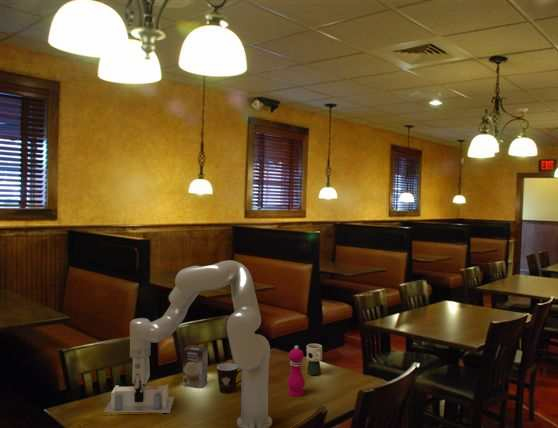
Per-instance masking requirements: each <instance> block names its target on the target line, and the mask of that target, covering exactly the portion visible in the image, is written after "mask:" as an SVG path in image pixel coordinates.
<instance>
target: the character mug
mask: <svg viewBox="0 0 558 428" xmlns="http://www.w3.org/2000/svg"><path fill="white" fill-rule="evenodd" d="M306 360H307V361H308V363H307V372H306V373H307V374H308V375H312V376H317V375H319V374H320V375H321V373H322V371H321V363H320V362H321V361H322V360H323V346H322V345H321V344H319V343H309V344H307V345H306Z"/></svg>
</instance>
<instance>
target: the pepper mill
mask: <svg viewBox="0 0 558 428" xmlns="http://www.w3.org/2000/svg"><path fill="white" fill-rule="evenodd" d="M304 356H305V355H304V352H303V350H301V349H300V347H299V346H298V345H294V348H293V349H291V350H290V351H289V353H288V357H289V360H290V361H289V362H290V363H289V364H290V367H291V368H290V374H289V375H288V378H287V380H286V381H287V382H286V385H287V386H288V391H287V392H288V395H289V396H291V397H301V396H303V395H304V386H305V385H306V382H305V381H306V380H305V378H304V375H303V373H302V366H303V359H304Z"/></svg>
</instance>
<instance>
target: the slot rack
mask: <svg viewBox="0 0 558 428" xmlns="http://www.w3.org/2000/svg"><path fill="white" fill-rule="evenodd" d="M121 387H128V386H121ZM174 402H175V396H168V402H167V405H166V407H163V406H160V394H155V395H154V406H127V407H122V395H116V407H115V408H113V409H111V400H110V401H109V402H108V404H107V406H106V407H105V409H104V410H103V413H104V412H162V413H170V414H171V412H172V409H171V408H173V406H174ZM172 405H173V406H172ZM170 411H171V412H170Z"/></svg>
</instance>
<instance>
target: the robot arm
mask: <svg viewBox="0 0 558 428" xmlns="http://www.w3.org/2000/svg"><path fill="white" fill-rule="evenodd" d="M174 285H175V286H174V288H173V289H172V290H171V292H170V294H169V295H168V301H169V303H170V305H169V307H168V309H167V310H166V311H165V313H164V314H163V315H162V317H160V318H158V319H156V320H153V321H150V320H149V318H145V317H140V318H139V317H138V318H134V319H132V320H131V321H130V323H129V357H130V358H131V359H132V366H131V367H132V372H131V376H132V377H131V379H132V380H131V381H132V384H133V385H134V387H135V392H134V397H135V402H143V386H147V382H148V381H149V379H150V373H151V372H150V356H151V355H152V354H151V353H152V352H151V344H152V343H153V344H154V343H158V342H160V341H162V340H164V339H165V338H168V337H170V336H172V334H174V332H176V330H177V329H178V328H179V326H180V325H181V324H182V322H183V321H184V319H185V317H186V315H187V313H188V309H189V308H190V306H191V305H192V303H193V302H194V301H195V299H196V298H197V296H198V295H199V294H200V292H205V291H212V290H219V289H221V288H224V287H226V286H228V285H229V286H230V287H231V293H230V294H231V300H232V303H233V311H234V312H233V313H231V314H230V316H229V317H228V319H227V322H226V334H227V338H228V342H229V348H230V351H231V356H232V360H233V362H234V364H235V365H236V366H237V367H238V369H239V370H242V371H241V379H240V380H241V382H240V383H241V384H240V385H241V387H240V388H241V390H240V393H241V396H240V397H241V398H240V401H241V403H240V407H241V409H240V416H239V417H237V419H236V426H237V427H238V428H270V427H272V425H273V419H272V417H271V416H270V415H269V368H270V358H271V346H270V343H269V340H268V339H267V338H266V337H265V336H264V335H262V334H258V333H256V331H257V330H258V329H259V328H260V326H261V323H262V318H261V317H262V316H261V312H260V307H259V303H258V299H257V295H256V290H255V286H254V281H253V278H252V274H251V273H250V271H249V268H248V267H246V266H245V265H244V264H242V263H241V262H239V261H236V260H230V259H229V260H222V261H219V262H217V263H214V264H211V265H204V266H203V265H202V266H201V265H192V266H189V267H185V268H182V269H181V270H180V271H178V273H177V274H176V276H175V280H174ZM140 386H141V387H140Z"/></svg>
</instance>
